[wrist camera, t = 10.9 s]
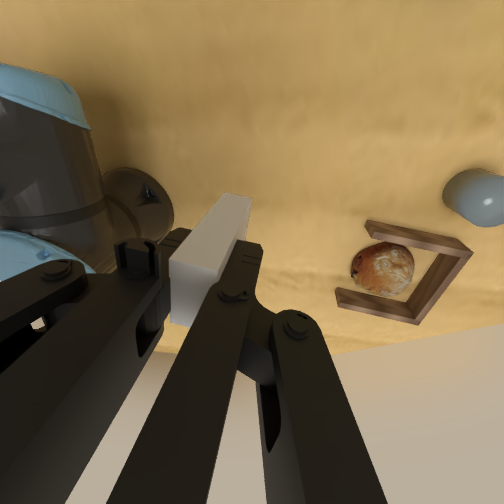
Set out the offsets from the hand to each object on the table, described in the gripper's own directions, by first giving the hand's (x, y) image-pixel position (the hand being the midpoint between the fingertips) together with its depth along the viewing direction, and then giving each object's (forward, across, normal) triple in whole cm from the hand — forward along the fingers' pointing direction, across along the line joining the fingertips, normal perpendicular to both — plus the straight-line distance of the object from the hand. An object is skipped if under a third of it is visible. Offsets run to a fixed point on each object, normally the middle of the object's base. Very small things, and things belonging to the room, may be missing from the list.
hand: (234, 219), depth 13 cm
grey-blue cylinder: (+30, +30, -1) cm, 42 cm away
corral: (+29, +25, -17) cm, 42 cm away
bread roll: (+30, +24, -17) cm, 42 cm away
